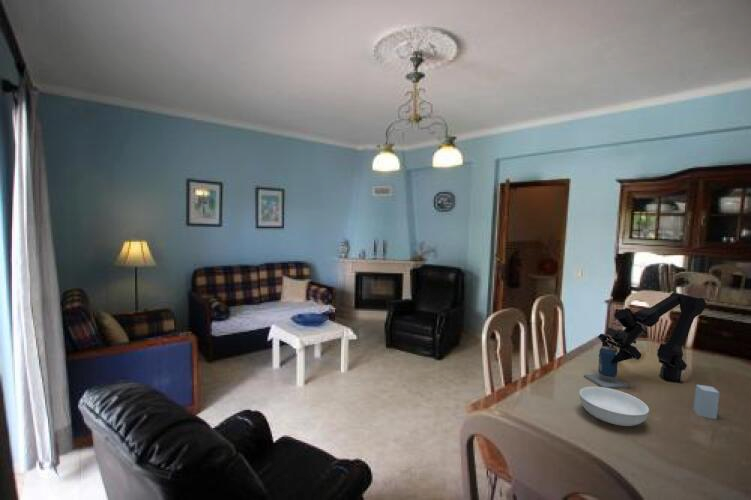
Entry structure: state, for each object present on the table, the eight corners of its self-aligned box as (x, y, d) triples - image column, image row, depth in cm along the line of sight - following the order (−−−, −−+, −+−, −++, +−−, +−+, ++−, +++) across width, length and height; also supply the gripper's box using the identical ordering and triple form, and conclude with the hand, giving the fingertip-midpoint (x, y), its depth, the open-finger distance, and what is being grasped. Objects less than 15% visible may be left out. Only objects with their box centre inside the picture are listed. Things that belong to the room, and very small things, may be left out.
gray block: (693, 410, 142) (696, 384, 141) (709, 412, 140) (712, 387, 139) (699, 416, 137) (702, 390, 136) (716, 419, 135) (719, 392, 134)
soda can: (620, 376, 162) (622, 349, 161) (610, 379, 159) (612, 351, 158) (604, 370, 168) (605, 344, 167) (594, 373, 165) (596, 346, 164)
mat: (607, 375, 171) (607, 373, 171) (629, 387, 159) (629, 385, 159) (583, 376, 169) (583, 374, 169) (604, 389, 157) (604, 386, 157)
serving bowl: (649, 442, 120) (651, 421, 119) (575, 421, 131) (577, 402, 130) (644, 414, 138) (646, 396, 137) (580, 398, 149) (581, 381, 148)
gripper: (603, 316, 171) (579, 340, 171) (637, 328, 153) (611, 355, 152) (616, 332, 173) (593, 356, 173) (652, 346, 155) (627, 373, 154)
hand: (605, 359), depth 163 cm, fingers closed on soda can, 7 cm apart
